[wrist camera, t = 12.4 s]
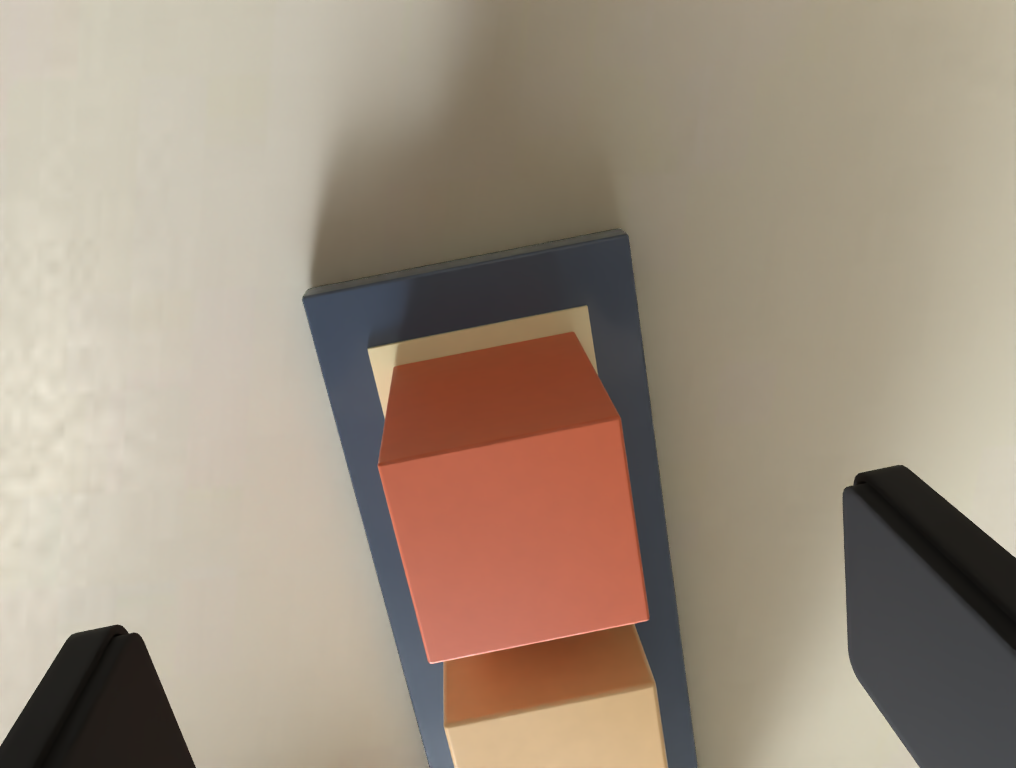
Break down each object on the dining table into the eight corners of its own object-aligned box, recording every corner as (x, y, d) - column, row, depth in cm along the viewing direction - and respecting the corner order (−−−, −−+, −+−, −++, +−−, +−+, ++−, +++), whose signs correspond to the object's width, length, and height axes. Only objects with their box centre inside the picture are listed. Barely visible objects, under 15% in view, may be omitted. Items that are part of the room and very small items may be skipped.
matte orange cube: (392, 365, 18) (376, 464, 14) (574, 330, 18) (620, 415, 14) (431, 526, 20) (428, 665, 15) (600, 492, 20) (651, 621, 15)
